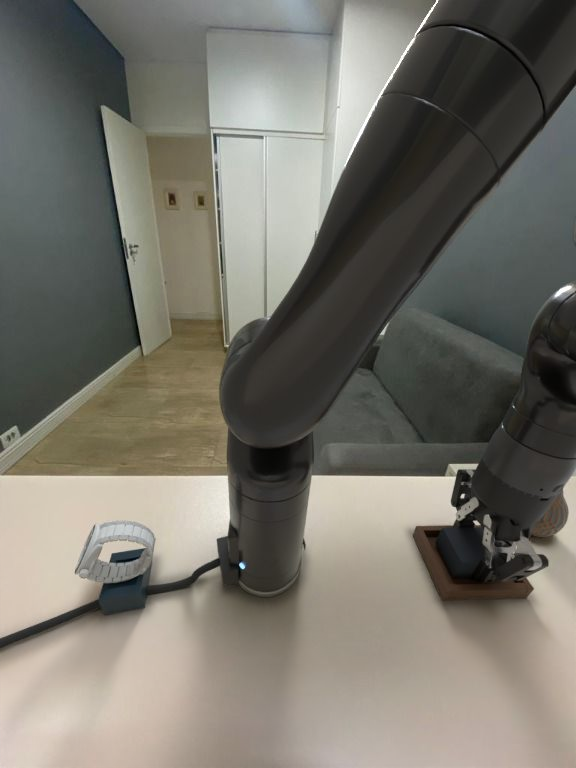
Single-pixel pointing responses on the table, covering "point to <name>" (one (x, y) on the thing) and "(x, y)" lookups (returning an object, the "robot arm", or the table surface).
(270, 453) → the robot arm
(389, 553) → the table surface
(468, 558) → the dark blue rectangular block
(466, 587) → the brown tray
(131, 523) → the watch
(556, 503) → the vase
